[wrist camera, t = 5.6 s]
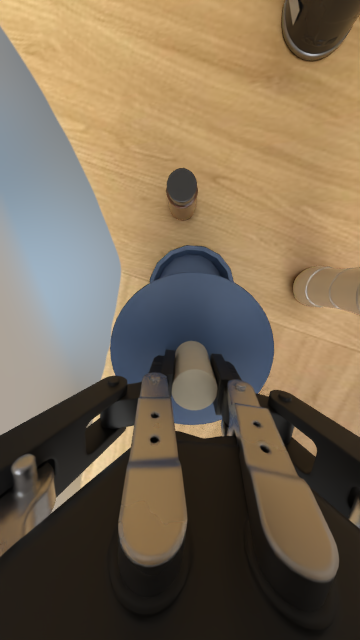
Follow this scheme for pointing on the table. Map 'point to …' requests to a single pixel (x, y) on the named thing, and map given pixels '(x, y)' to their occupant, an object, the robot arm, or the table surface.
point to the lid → (193, 338)
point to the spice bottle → (182, 193)
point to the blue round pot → (191, 263)
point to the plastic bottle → (329, 288)
